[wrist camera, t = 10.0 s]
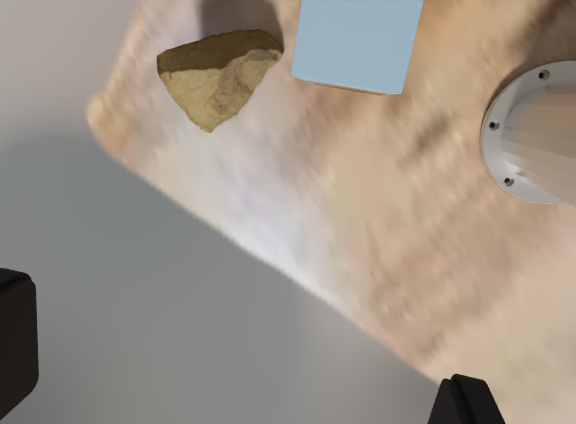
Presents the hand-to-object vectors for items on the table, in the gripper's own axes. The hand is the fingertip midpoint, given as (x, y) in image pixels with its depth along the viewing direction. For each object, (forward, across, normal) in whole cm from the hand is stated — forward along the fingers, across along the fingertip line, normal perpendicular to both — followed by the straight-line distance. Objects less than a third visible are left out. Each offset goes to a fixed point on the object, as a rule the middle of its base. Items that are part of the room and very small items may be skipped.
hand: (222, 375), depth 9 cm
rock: (+34, +10, -6) cm, 36 cm away
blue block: (+21, -1, -10) cm, 24 cm away
